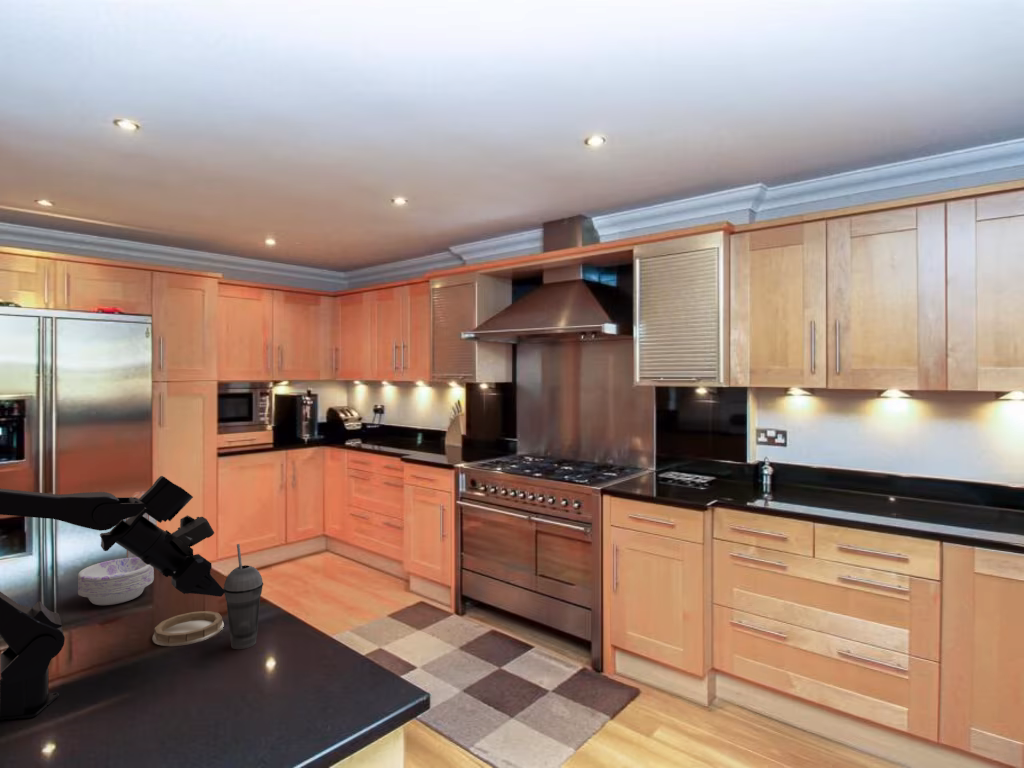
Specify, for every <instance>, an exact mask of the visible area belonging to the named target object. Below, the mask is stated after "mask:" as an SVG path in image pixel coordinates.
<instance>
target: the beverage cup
mask: <svg viewBox="0 0 1024 768" xmlns="http://www.w3.org/2000/svg"><path fill="white" fill-rule="evenodd" d="M240 546H241V545H240V543H237V544H236V548H237V561H238V566H237V567H235V568H234V569H232V570H231V571H230V573H228V575H227V577H226V578H225V581H224V585H223V586H224V587H223V589H224V591H225V593H224V594H223V595H224V598H225V601H226V609H227V612H226V613H227V619H228V620H227V621H228V630H229V638H230V644H231V645H230V647H231V649H234V650H245V649H248V648H251V647H253V646H255V644H257V638H258V637H257V636H258V627H259V618H260V606H261V605H260V604H261V595H262V593H263V586H264V581H263V577H262V575H261V573H260V571H259V570H258V569H257V568H256V567H255V566H252V565H248V564H247V565H243V563H242V557H241V556H242V554H241V547H240Z"/></svg>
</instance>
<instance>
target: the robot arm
mask: <svg viewBox="0 0 1024 768" xmlns="http://www.w3.org/2000/svg"><path fill="white" fill-rule="evenodd" d="M145 491H146V492H145V493H144V494H143V495H142V496H141V497H140V498H139V499H138V498H136V497H131V496H130V497H127V496H126V497H125V496H124V497H118V496H117V497H116V495H114V494H112V493H110V492H107V491H106V492H105V491H97V492H96V491H89V492H77V493H76V492H75V493H65V494H63V493H62V494H58V493H48V492H47V493H46V492H40V491H39V492H37V491H27V490H19V489H9V488H0V516H2V515H3V516H12V517H23V518H24V517H26V518H35V519H37V518H38V519H50V520H57V521H60V522H65V523H67V524H71V525H73V526H77V527H81V528H86V529H91V530H95V531H106V532H100V533H99V536H100V540H101V541H100V547H101V549H102V550H103V551H104V552H108V551H109V550H110V549H111V548H112V547H113V546H114V545H115V544H118V545H119V546H120V547H122V548H123V549H124V550H126V551H127V550H128V551H129V552H131V553H132V554H134V555H135V556H137V557H138V558H140V559H141V560H142V561H143V562H144V563H146V564H147V565H151V566H152V567H153V568H154V569H155V570H156V571H158V572H159V573H161V575H162V576H164V577H165V578H168V577H171V585H172V587H174V589H176V590H177V591H179V592H181V593H182V594H184V595H185V594H186V595H189V594H192V595H193V594H194V595H203V596H213V597H222V596H224V595H225V594H224V593H225V591H224V587H222V586H221V585H220V584H219V583H218V582H217V580H216V579H215V578H214V576H213V575H211V570H212V568H213V567H212V562H211V561H209V560H207V559H206V558H205V557H204V556H202V555H200V554H199V553H197V554H194V549H193V548H192V547H194V546H195V545H197V544H199V543H200V542H202V541H204V540H205V539H209V538H211V537H212V536H213V535H215V532H214V530H213V528H212V526H211V524H210V522H209V521H208V519H207V518H205V517H204V516H196V517H195V518H193V516H190V515H185V516H184V517H182V518H180V522H179V524H180V525H179V527H178V528H177V530H175V531H173V532H172V533H171V532H170V531H168V530H166V529H165V530H164V529H162V528H161V527H160V526H158V525H157V526H156V525H155V524H153V523H152V522H151V521H149V520H148V519H146V518H145V517H143V515H144V514H145V513H147V514H148V515H150V516H151V517H152V518H154V519H155V520H157V523H160V524H161V523H162V522H164V523H165V522H167V521H168V522H171V521H172V520H173V519H174V518H175V516H177V515H178V514H179V512H181V510H183V509H184V507H186V506H187V504H189V502H190V501H191V500H192V499H193V498H194V496H193V495H192V494H190V493H189V492H188V491H186V489H184V488H183V487H181V486H179V485H178V484H176V483H174V482H172V481H171V480H170V479H167V477H165V476H163V475H160V476H159V477H158V478H157V479H156V480H155V481H154V483H153V485H151V486H150V487H149V489H148V490H145ZM127 518H129V519H128V520H127V521H126V519H127ZM108 530H109V531H108ZM107 531H108V532H107ZM0 637H1V639H2V640H3V641H4V642H5V643H6V644H7V647H6V648H5V649H4V650H3V651H2V652H1V654H0V721H5V720H4V719H8V720H17V719H16V718H19V719H26V718H27V719H29V718H34V717H36V716H37V715H39V714H40V713H41V712H42V711H43V710H45V708H47V705H48V706H49V705H50V704H51V703H52V702H54V700H56V698H59V695H60V693H59V692H49V690H50V689H49V688H50V687H49V686H50V685H49V684H50V683H49V680H50V679H49V677H50V676H49V672H50V671H49V670H50V669H49V666H50V663H51V661H52V659H53V658H55V657H57V656H58V654H60V652H61V651H62V650H63V647H64V645H65V640H66V638H65V633H64V630H63V624H62V621H61V618H60V614H59V613H58V612H53V611H51V610H50V609H48V608H47V606H46V605H44V604H43V603H42V602H41V600H38V601H37V602H36V603H35V604H34V605H33V607H30V606H25V605H21V604H20V603H17V602H16V601H15V600H13V599H12V598H10V597H9V596H7V595H6V594H4V593H3V592H2V591H0Z"/></svg>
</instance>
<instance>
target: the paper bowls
mask: <svg viewBox="0 0 1024 768" xmlns="http://www.w3.org/2000/svg"><path fill="white" fill-rule="evenodd" d="M154 569H155V568H154V567H152V566H151V565H147V564H146V563H144V562H143V561H142V560H141V559H140V558H127V557H125V558H124V557H123V558H115V559H111V560H105V561H102V562H98V563H94V564H92V565H89V566H87V567H85V568H83V569H82V570H80V571H79V572H78V574H77V583H78V584H77V585H78V586H77V587H78V588H77V594H78V596H80V597H84V598H87V599H88V600H89V601H90V603H92V604H93V605H96V606H113V605H118V604H123V603H126V602H129V601H130V602H131V600H134V599H136V598H138V597H139V596H141V595H142V594H143V592H144V591H145V589H146V587H148V586H149V585H151V584H152V583H153V582H154V579H155V574H154V573H155V571H154Z"/></svg>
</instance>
